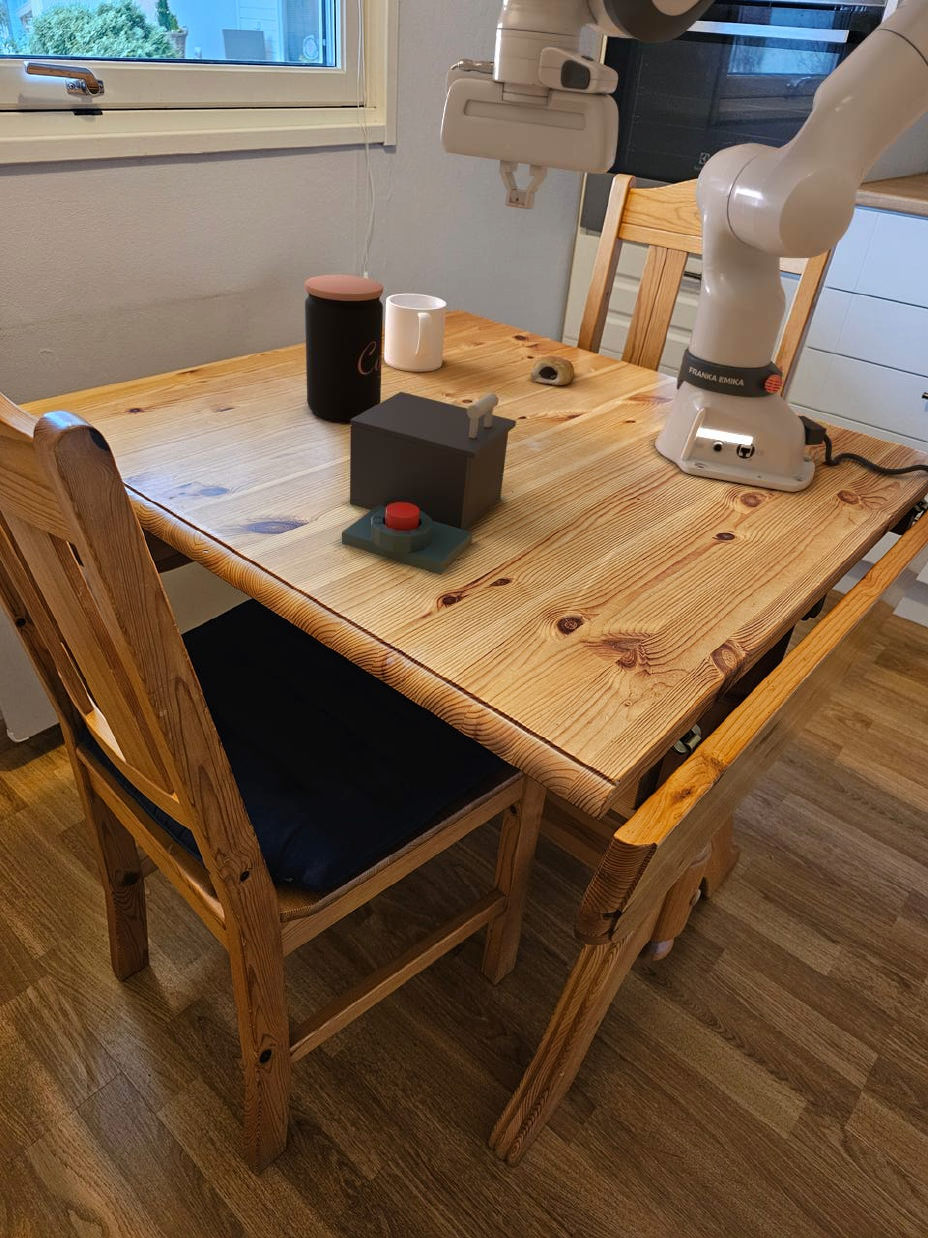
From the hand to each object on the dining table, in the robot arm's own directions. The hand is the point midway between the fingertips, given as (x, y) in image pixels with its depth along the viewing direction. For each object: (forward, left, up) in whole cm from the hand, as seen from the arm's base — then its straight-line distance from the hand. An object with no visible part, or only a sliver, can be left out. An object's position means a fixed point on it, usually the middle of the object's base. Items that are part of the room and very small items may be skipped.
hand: (519, 207), depth 99 cm
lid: (+1, +18, -21) cm, 28 cm away
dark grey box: (+1, +18, -31) cm, 36 cm away
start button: (-2, +29, -28) cm, 41 cm away
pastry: (+5, -37, -31) cm, 49 cm away
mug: (+27, -28, -31) cm, 50 cm away
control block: (-2, +28, -31) cm, 42 cm away
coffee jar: (+25, -2, -31) cm, 40 cm away
